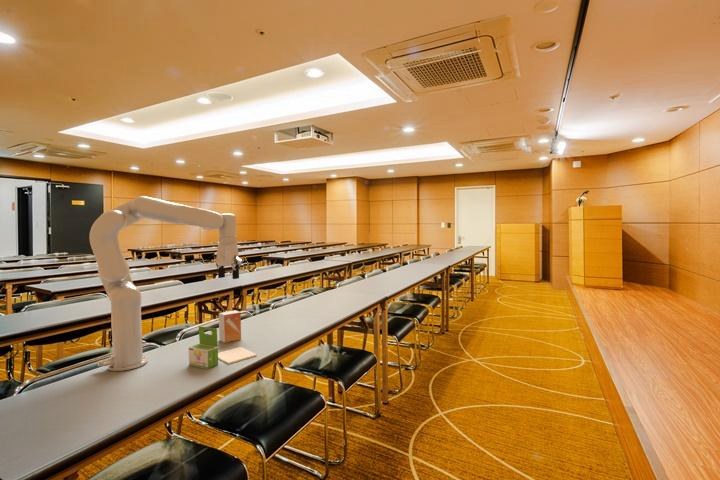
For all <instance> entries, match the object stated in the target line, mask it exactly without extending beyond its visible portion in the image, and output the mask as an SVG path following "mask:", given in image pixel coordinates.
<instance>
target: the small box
mask: <svg viewBox="0 0 720 480" xmlns="http://www.w3.org/2000/svg"><path fill="white" fill-rule="evenodd" d="M241 314H242V313H241V312H240V311H239V310H235V309H234V310H229V311H223V312H219V313H218V333H219V334H218V336H219V341H220V342H222V343H224V344H227V343H230V342H235V341H239V340H240V341H241V340H242V321H241V319H242V318H241V316H242V315H241Z"/></svg>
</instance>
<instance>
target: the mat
mask: <svg viewBox="0 0 720 480" xmlns="http://www.w3.org/2000/svg"><path fill="white" fill-rule="evenodd" d="M257 356H258V354H256V353H255V352H252V351H250V350H248V349H246V348H244V347H242V346H238V347H235V348H231V349H227V350H225V351H224V350H223V351H221V352H218V360H220V361H221V362H223V363H225V364H227V365H231V364H234V363H237V362H241V361H244V360H248V359H251V358H254V357H257Z"/></svg>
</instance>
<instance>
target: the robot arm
mask: <svg viewBox="0 0 720 480" xmlns="http://www.w3.org/2000/svg"><path fill="white" fill-rule="evenodd" d="M142 219H147V220H153V221H158V222H163V223H167V224H173V225H188V226H193V227H194V226H195V227H200V228H202V229H203V230H206V231H215V230H218V244H217V247H216V248H217V250H216V258H214V262H215V265H216V267H217V268H216V269H217V270H218V271H217V274H218V279H222V278H225V277H226V269H225V267H231V268H232V271H231V273H232V274H231V275H232V276H231V277H232V279H233V280H236V279H240V269H241V267H242V264H243V260H242V259H241V258H240V257H239V256H240V255H239V248H238V244H237V243H238V242H237V216H236V215H235V214H233V213H221V214H220V213H218V212H217V211H213V210H209V209H203V208H200V207H199V208H198V207H195V206H190V205H184V204H180V203H175V202H171V201H167V200H162V199H159V198H154V197H149V196H145V195H141V196H136V197H134V198H133V199H130V200H129V201H127V202H124V203H123V204H120V205H119V206H118V205H117V206H115V207H114V208H111V209H110V210H109V209H108V210H106V211H104V212H103V213H102V214H101V215H100V216H98V217H97V219H96V220H95V221H94V222H93V224H92V225H91V227H90V231H89V244H90V247H91V250H92V253H93V256H94V258H95V261H96V263H97V273H98V276H99V278H100V280H101V283H102V286H103V288H104V290H105V293H106V294H107V297H108V299H109V301H110V306H111V307H110V312H111V314H110V315H111V316H110V317H111V319H110V321H111V324H110V325H111V337H112V338H111V339H112V342H111V343H112V354H111V355H110V357H107V359H102V360H97V367H102V366H103V367H107V366H108V370H110V371H112V372H122V371H123V372H124V371H129V370H133V369H137V368H139V367H143V366H144V365H146V364H147V362H148V357H147V356H144V355H143V335H142V333H143V331H142V293H141V291H140V289H139V288H138V287H137V286H136V285H135V284H134V282H133V279H132V277H131V274H130V266H129V263H128V262H127V260H126V257H125V256H124V252H123V251H122V250H123V249H122V247H121V245H120V242H119V235H120V233H121V231H123V230H125V228H126V227H129V226H131V225H133V224H135V223H137V222H139V221H141V220H142Z"/></svg>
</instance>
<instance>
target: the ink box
mask: <svg viewBox="0 0 720 480" xmlns="http://www.w3.org/2000/svg"><path fill="white" fill-rule="evenodd" d="M205 331H210V333H211V334H210V333H209V334H208V333H205ZM198 339H199V343H196V344H194V345H190V346H188V365H189V366H191V367H195V368H200V369H203V370H204V369H205V370H209V369H211V368H214V367H215V366H218V365H219V359H218V353H219V347H218V344H219V343H218V328H215V327H208V326H201V325H199V326H198Z"/></svg>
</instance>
